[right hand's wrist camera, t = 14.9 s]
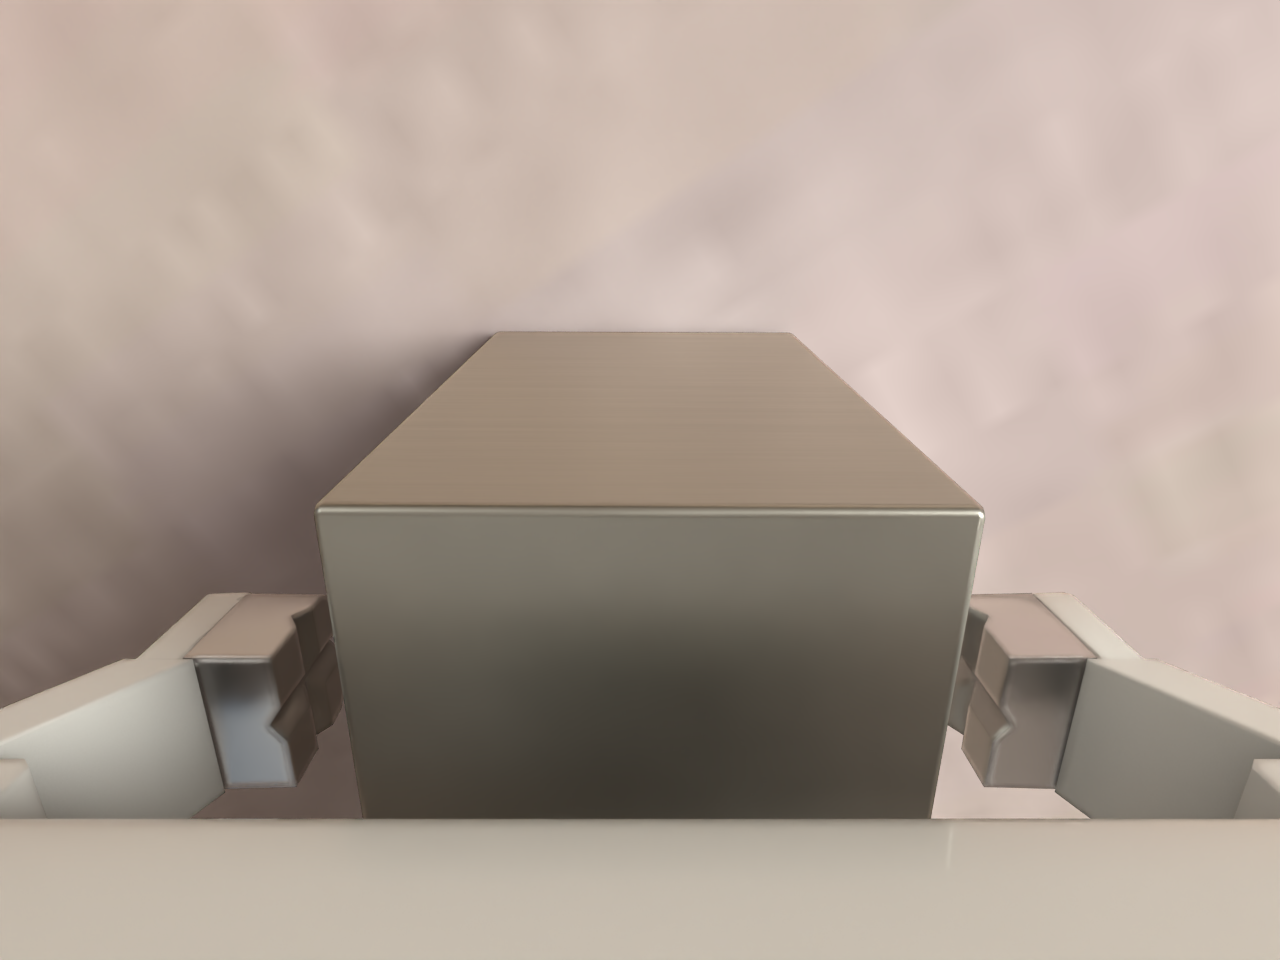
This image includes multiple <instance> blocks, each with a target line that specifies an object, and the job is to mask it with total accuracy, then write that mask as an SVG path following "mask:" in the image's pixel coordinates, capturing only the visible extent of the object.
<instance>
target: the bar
mask: <svg viewBox="0 0 1280 960" xmlns="http://www.w3.org/2000/svg"><path fill="white" fill-rule="evenodd" d="M314 519H315V525H316V532H317V538H318V544H319V550H320V556H321V562H322V569H323V575H324V581H325V587H326V593H327V599H328V606H329V612H330V618H331V624H332V630H333V636H334V643H335V649H336V655H337V661H338V667H339V673H340V680H341V686H342V692H343V698H344V704H345V710H346V717H347V723H348V729H349V735H350V741H351V747H352V754H353V760H354V766H355V772H356V778H357V785H358V791H359V797H360V803H361V809H362V815H363V819H931V814H932V808H933V803H934V797H935V792H936V786H937V780H938V775H939V769H940V764H941V758H942V753H943V747H944V742H945V736H946V731H947V725H948V720H949V714H950V709H951V703H952V698H953V692H954V687H955V681H956V676H957V670H958V665H959V659H960V654H961V648H962V643H963V637H964V632H965V626H966V621H967V615H968V610H969V604H970V599H971V593H972V588H973V582H974V577H975V571H976V566H977V560H978V555H979V549H980V544H981V538H982V533H983V527H984V522H985V513H984V510H983V507H982V506H981V505H980V504H979V503H978V502H976V501H975V500H974V499H973V498H972V497H971V496H970V495H969V494H968V493H967V492H965V491H964V490H963V489H962V488H961V487H960V486H959V485H958V484H957V483H956V482H955V481H953V480H952V479H951V478H950V477H949V476H948V475H947V474H946V473H945V472H944V471H942V470H941V469H940V468H939V467H938V466H937V465H936V464H935V463H934V462H933V461H931V460H930V459H929V458H928V457H927V456H926V455H925V454H924V453H923V452H922V451H920V450H919V449H918V448H917V447H916V446H915V445H914V444H913V443H912V442H911V441H909V440H908V439H907V438H906V437H905V436H904V435H903V434H902V433H901V432H900V431H898V430H897V429H896V428H895V427H894V426H893V425H892V424H891V423H890V422H889V421H888V420H886V419H885V418H884V417H883V416H882V415H881V414H880V413H879V412H878V411H877V410H875V409H874V408H873V407H872V406H871V405H870V404H869V403H868V402H867V401H866V400H864V399H863V398H862V397H861V396H860V395H859V394H858V393H857V392H856V391H855V390H853V389H852V388H851V387H850V386H849V385H848V384H847V383H846V382H845V381H844V380H842V379H841V378H840V377H839V376H838V375H837V374H836V373H835V372H834V371H833V370H832V369H830V368H829V367H828V366H827V365H826V364H825V363H824V362H823V361H822V360H821V359H819V358H818V357H817V356H816V355H815V354H814V353H813V352H812V351H811V350H810V349H808V348H807V347H806V346H805V345H804V344H803V343H802V342H801V341H800V340H799V339H797V338H796V337H795V336H794V335H793V334H791V333H713V332H497V333H495V334H494V335H493V336H492V337H491V338H490V339H489V340H488V341H487V342H486V343H485V344H484V345H483V346H482V347H481V348H480V349H479V350H478V351H477V352H476V353H474V354H473V355H472V356H471V357H470V358H469V359H468V360H467V361H466V362H465V363H464V364H463V365H462V366H461V367H460V368H459V369H458V370H457V371H456V372H455V373H454V374H452V375H451V376H450V377H449V378H448V379H447V380H446V381H445V382H444V383H443V384H442V385H441V386H440V387H439V388H438V389H437V390H436V391H435V392H434V393H433V394H431V395H430V396H429V397H428V398H427V399H426V400H425V401H424V402H423V403H422V404H421V405H420V406H419V407H418V408H417V409H416V410H415V411H414V412H413V413H412V414H411V415H409V416H408V417H407V418H406V419H405V420H404V421H403V422H402V423H401V424H400V425H399V426H398V427H397V428H396V429H395V430H394V431H393V432H392V433H391V434H390V435H389V436H387V437H386V438H385V439H384V440H383V441H382V442H381V443H380V444H379V445H378V446H377V447H376V448H375V449H374V450H373V451H372V452H371V453H370V454H369V455H368V456H366V457H365V458H364V459H363V460H362V461H361V462H360V463H359V464H358V465H357V466H356V467H355V468H354V469H353V470H352V471H351V472H350V473H349V474H348V475H347V476H346V477H344V478H343V479H342V480H341V481H340V482H339V483H338V484H337V485H336V486H335V487H334V488H333V489H332V490H331V491H330V492H329V493H328V494H327V495H326V496H325V497H323V498H322V499H321V500H320V501H319V502H318V503H317V504H316V507H315V510H314Z"/></svg>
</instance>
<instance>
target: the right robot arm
mask: <svg viewBox="0 0 1280 960" xmlns="http://www.w3.org/2000/svg"><path fill="white" fill-rule="evenodd" d="M332 635H333V630H332V624H331V618H330V612H329V606H328V599H327V595H322V594H268V593H254V594H252V593H250V592H245V593H216V594H207V595H206V596H205V597H204V598H203V599H202V600H201V601H200V602H199V603H197V604H196V605H195V606H194V607H193V608H192V609H191V610H190V611H189V612H187V613H186V614H185V615H184V616H183V617H182V618H181V619H180V620H179V621H177V622H176V623H175V624H174V625H173V626H172V627H171V628H170V629H169V630H168V631H166V632H165V633H164V634H163V635H162V636H161V637H160V638H159V639H158V640H156V641H155V642H154V643H153V644H152V645H151V646H150V647H149V648H148V649H146V650H145V651H144V652H143V653H142V654H141V655H140V656H139V657H138V658H136V659H122V660H119V661H117V662H114V663H112V664H110V665H107V666H105V667H102V668H100V669H97V670H95V671H92V672H90V673H87V674H85V675H82V676H80V677H77V678H75V679H72V680H70V681H67V682H65V683H62V684H60V685H57V686H55V687H52V688H50V689H47V690H45V691H43V692H40V693H38V694H35V695H33V696H30V697H28V698H25V699H23V700H20V701H18V702H15V703H13V704H10V705H8V706H5V707H3V708H0V960H1280V709H1279V708H1277V707H1274V706H1272V705H1269V704H1267V703H1264V702H1262V701H1260V700H1257V699H1255V698H1252V697H1250V696H1247V695H1245V694H1242V693H1240V692H1237V691H1235V690H1232V689H1230V688H1227V687H1225V686H1222V685H1220V684H1217V683H1215V682H1213V681H1210V680H1208V679H1205V678H1203V677H1200V676H1198V675H1195V674H1193V673H1190V672H1188V671H1185V670H1183V669H1180V668H1178V667H1175V666H1173V665H1170V664H1168V663H1166V662H1163V661H1161V660H1158V659H1144V658H1142V657H1141V656H1140V655H1139V654H1138V653H1137V652H1136V651H1135V650H1134V649H1133V648H1131V647H1130V646H1129V645H1128V644H1127V643H1126V642H1125V641H1124V640H1123V639H1121V638H1120V637H1119V636H1118V635H1117V634H1116V633H1115V632H1114V631H1113V630H1112V629H1110V628H1109V627H1108V626H1107V625H1106V624H1105V623H1104V622H1103V621H1102V620H1100V619H1099V618H1098V617H1097V616H1096V615H1095V614H1094V613H1093V612H1092V611H1091V610H1089V609H1088V608H1087V607H1086V606H1085V605H1084V604H1083V603H1082V602H1081V601H1079V600H1078V599H1077V598H1076V597H1075V596H1074V595H1071V594H1068V593H1064V592H1058V593H1035V594H1032V593H1015V594H974V595H971V599H970V604H969V610H968V615H967V621H966V626H965V632H964V637H963V643H962V648H961V654H960V659H959V665H958V670H957V676H956V681H955V687H954V692H953V698H952V703H951V709H950V714H949V720H948V725H949V726H950V727H952V728H953V729H955V730H957V731H958V732H960V733H961V734H963V735H964V736H963V742H962V748H961V749H962V751H963V752H964V754H965V756H966V757H967V759H968V761H969V762H970V764H971V766H972V768H973V769H974V771H975V773H976V774H977V776H978V778H979V779H980V781H981V783H982V784H983V786H984V787H1005V788H1042V789H1055V792H1056V793H1057V794H1058V795H1060V796H1061V797H1062V798H1064V799H1065V800H1066V801H1068V802H1069V803H1070V804H1072V805H1073V806H1074V807H1076V808H1077V809H1078V810H1080V811H1081V812H1082V813H1084V814H1085V815H1087V816H1088V817H1089V818H1091V819H190V818H191V817H192V816H194V815H195V814H196V813H198V812H199V811H200V810H202V809H203V808H204V807H206V806H207V805H209V804H210V803H211V802H213V801H214V800H215V799H217V798H218V797H219V796H221V795H222V794H223V793H225V790H224V789H237V788H273V787H296V786H297V784H298V783H299V781H300V779H301V778H302V776H303V774H304V773H305V771H306V769H307V768H308V766H309V764H310V763H311V761H312V759H313V757H314V756H315V754H316V752H317V751H318V749H319V748H318V742H317V736H316V735H317V734H319V733H320V732H322V731H323V730H325V729H327V728H328V727H330V726H331V725H333V723H334V721H335V720H336V718H337V716H338V714H339V712H340V710H341V708H342V703H343V699H344V698H343V692H342V686H341V680H340V673H339V667H338V661H337V655H336V649H335V644H334V643H333V642H332V641H331V640H330V638H331V637H332Z"/></svg>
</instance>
